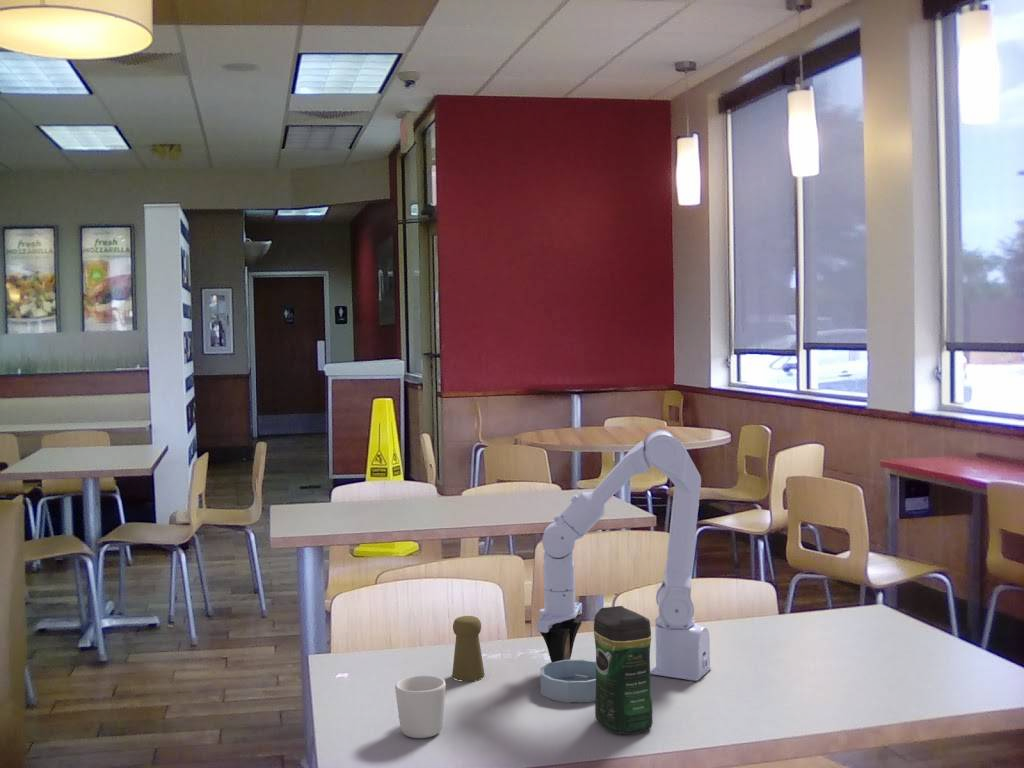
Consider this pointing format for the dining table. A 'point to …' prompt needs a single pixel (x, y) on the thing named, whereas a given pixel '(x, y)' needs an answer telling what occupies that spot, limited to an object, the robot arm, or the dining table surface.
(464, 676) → the cork
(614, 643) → the coffee jar
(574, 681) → the pale blue round tray
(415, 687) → the cup
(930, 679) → the dining table surface
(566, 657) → the long wooden beam
